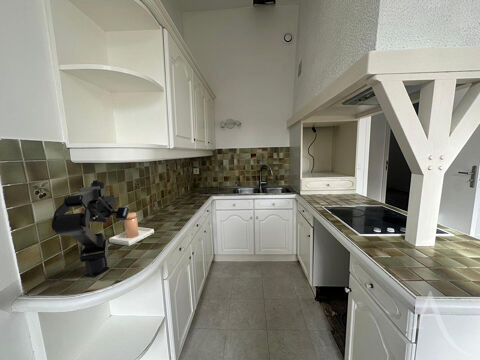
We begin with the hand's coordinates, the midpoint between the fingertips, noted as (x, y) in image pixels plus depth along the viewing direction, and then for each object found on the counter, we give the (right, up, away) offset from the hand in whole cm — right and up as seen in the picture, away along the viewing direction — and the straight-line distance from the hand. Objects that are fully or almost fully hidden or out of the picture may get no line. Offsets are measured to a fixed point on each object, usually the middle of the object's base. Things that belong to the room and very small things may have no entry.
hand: (115, 221), depth 106 cm
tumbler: (+2, -11, +13) cm, 17 cm away
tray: (+2, -12, +13) cm, 18 cm away
